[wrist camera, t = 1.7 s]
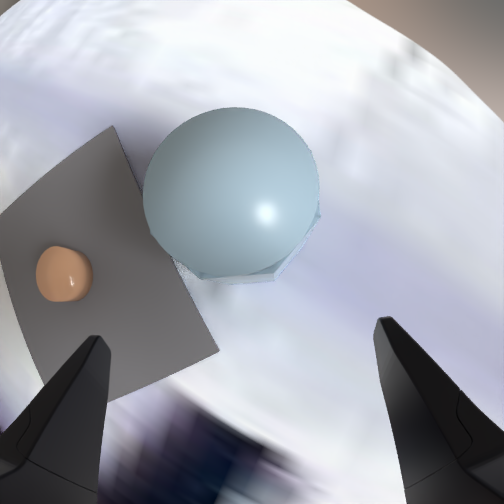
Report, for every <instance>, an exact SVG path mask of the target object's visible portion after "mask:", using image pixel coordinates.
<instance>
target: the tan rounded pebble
mask: <svg viewBox="0 0 504 504" xmlns="http://www.w3.org/2000/svg"><path fill="white" fill-rule="evenodd" d="M36 281H37V285H38V288H39V290H40V292H41V294H42V295H43V296H44V297H45V298H46V299H48V300H50V301H53V302H67V301H79V300H81V299H83V298H84V297H85V296H86V295H87V294H88V292H89V290H90V288H91V285H92V281H93V270H92V266H91V263H90V261H89V259H88V258H87V256H86V255H85V254H83V253H82V252H80V251H76V250H72V249H68V248H63V247H59V246H53V247H50V248H48V249H47V250H46V251H44V253H43V254H42V255H41V257H40V259H39V261H38V264H37V268H36Z"/></svg>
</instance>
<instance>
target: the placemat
mask: <svg viewBox="0 0 504 504" xmlns="http://www.w3.org/2000/svg"><path fill="white" fill-rule="evenodd" d="M53 246H59V247H63V248H68V249H72V250H76V251H80V252H82V253H83V254H85V255H86V256H87V258H88V259H89V261H90V263H91V266H92V270H93V281H92V285H91V288H90V290H89V292H88V294H87V295H86V296H85V297H84V298H83V299H81V300H79V301H67V302H53V301H50V300H48V299H46V298H45V297H44V296H43V295H42V294H41V292H40V290H39V288H38V285H37V281H36V268H37V264H38V261H39V259H40V257H41V255H42V254H43V253H44V251H46V250H47V249H48V248H50V247H53ZM0 260H1V265H2V269H3V272H4V276H5V280H6V284H7V287H8V291H9V294H10V297H11V301H12V304H13V307H14V310H15V313H16V316H17V319H18V322H19V325H20V328H21V330H22V333H23V336H24V339H25V341H26V344H27V346H28V349H29V351H30V354H31V356H32V359H33V361H34V363H35V366H36V368H37V370H38V372H39V375H40V377H41V379H42V381H43V383H44V385H46V383H47V382H48V381H49V380H50V379H51V378H52V376H53V375H54V374H55V373H56V372H57V371H58V370H59V368H60V367H61V366H62V365H63V364H64V363H65V362H66V361H67V359H68V358H69V357H70V356H71V355H72V354H73V353H74V352H75V351H76V349H77V348H78V347H79V346H80V345H81V344H82V343H83V342H84V341H85V340H86V339H87V337H89V336H90V335H100V336H101V337H102V338H103V339H104V341H105V342H106V344H107V345H108V346H109V348H110V350H111V368H110V382H109V394H108V401H107V402H110V401H112V400H115V399H117V398H120V397H122V396H124V395H127V394H129V393H131V392H134V391H136V390H138V389H140V388H143V387H145V386H147V385H149V384H152V383H154V382H156V381H158V380H161V379H163V378H165V377H167V376H169V375H172V374H174V373H176V372H178V371H180V370H182V369H184V368H186V367H189V366H191V365H193V364H195V363H197V362H199V361H201V360H203V359H205V358H207V357H209V356H211V355H213V354H215V353H217V352H219V351H220V350H219V348H218V346H217V345H216V343H215V341H214V339H213V337H212V336H211V334H210V332H209V330H208V328H207V326H206V324H205V323H204V321H203V319H202V317H201V315H200V313H199V311H198V309H197V308H196V306H195V304H194V302H193V300H192V298H191V296H190V294H189V292H188V290H187V288H186V286H185V284H184V282H183V280H182V278H181V276H180V274H179V272H178V270H177V268H176V266H175V264H174V262H173V260H172V258H171V256H170V255H169V254H168V253H167V252H166V251H165V250H164V249H163V248H162V247H161V246H160V244H159V243H158V241H157V240H156V239H155V238H154V237H153V236H152V235H151V234H150V228H149V225H148V222H147V220H146V217H145V212H144V207H143V195H142V193H141V191H140V189H139V186H138V184H137V182H136V179H135V177H134V175H133V172H132V170H131V168H130V165H129V163H128V160H127V158H126V156H125V153H124V151H123V148H122V146H121V143H120V141H119V138H118V136H117V133H116V131H115V128H114V127H113V126H111V127H109V128H108V129H106V130H105V131H103V132H102V133H100V134H99V135H97V136H96V137H94V138H93V139H92V140H90V141H89V142H87V143H86V144H85V145H83V146H82V147H80V148H79V149H78V150H76V151H75V152H74V153H72V154H71V155H70V156H68V157H67V158H66V159H64V160H63V161H62V162H61V163H59V164H58V165H57V166H55V167H54V168H53V169H52V170H50V171H49V172H48V173H47V174H46V175H44V176H43V177H42V178H41V179H40V180H38V181H37V182H36V183H35V184H34V185H32V186H31V187H30V188H29V189H28V190H27V191H26V192H24V193H23V194H22V195H21V196H20V197H19V198H18V199H17V200H16V201H15V202H13V203H12V204H11V205H10V206H9V207H8V208H7V209H6V210H5V211H4V212H3V213H2V214H1V215H0Z"/></svg>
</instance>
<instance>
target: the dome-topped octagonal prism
mask: <svg viewBox="0 0 504 504" xmlns="http://www.w3.org/2000/svg"><path fill="white" fill-rule="evenodd" d="M318 199H319V175H318V171H317V166H316V163H315V160H314V158H313V155H312V152H311V150H310V149H309V148H308V146H307V144H306V143H305V142H304V140H303V139H302V138H301V136H300V135H299V134H298V133H297V132H296V131H295V130H294V129H293V128H291V127H290V126H289V125H288V124H286V123H285V122H283V121H282V120H280V119H278V118H277V117H275V116H272V115H270V114H268V113H265V112H262V111H258V110H255V109H249V108H237V107H232V108H221V109H216V110H212V111H208V112H205V113H202V114H200V115H197V116H195V117H193V118H191V119H189V120H188V121H186V122H184V123H183V124H181V125H180V126H179V127H177V128H176V129H175V130H174V131H173V132H171V133H170V134H169V135H168V136H167V137H166V138H165V140H164V141H163V142H162V143H161V144H160V146H159V147H158V149H157V150H156V152H155V153H154V155H153V157H152V159H151V161H150V163H149V166H148V169H147V172H146V175H145V180H144V185H143V207H144V212H145V217H146V220H147V222H148V225H149V228H150V234H151V235H152V236H153V237H154V238H155V239H156V240H157V241H158V243H159V244H160V246H161V247H162V248H163V249H164V250H165V251H166V252H167V253H168V254H169V255H170V256H172V257H173V258H174V259H175V260H177V261H178V262H180V263H182V264H183V265H185V266H186V267H187V268H188V269H189V270H190V271H191V272H193V273H194V274H195V275H196V276H197V277H198V278H199V279H201V280H207V281H213V282H219V283H224V284H230V285H234V284H246V283H259V282H270V281H275V280H276V279H277V277H278V276H279V275H280V274H281V273H282V271H283V270H284V269H285V268H286V267H287V265H288V264H289V263H290V262H291V261H292V259H293V258H294V257H295V256H296V255H297V253H298V252H299V251H300V250H301V248H302V247H303V245H304V244H305V242H306V240H307V239H308V237H309V235H310V234H311V232H312V231H313V229H314V227H315V226H316V224H317V222H318V221H319V219H320V217H321V215H320V207H319V200H318Z"/></svg>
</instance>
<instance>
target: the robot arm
mask: <svg viewBox="0 0 504 504" xmlns="http://www.w3.org/2000/svg"><path fill="white" fill-rule="evenodd" d="M373 340H374V346H375V352H376V358H377V365H378V371H379V378H380V383H381V387H382V391H383V395H384V399H385V403H386V407H387V411H388V415H389V419H390V423H391V427H392V432H393V436H394V441H395V445H396V450H397V454H398V459H399V464H400V469H401V474H402V479H403V485H404V489H405V490H404V491H405V497H406V502H407V504H504V431H503V430H502V429H500V428H499V427H498V426H497V425H496V424H495V423H494V422H493V421H492V420H490V419H489V418H488V417H487V416H486V415H485V414H484V413H483V412H482V411H481V410H480V409H479V408H478V407H477V406H476V405H475V404H474V403H473V402H472V401H471V400H470V399H469V398H468V397H467V396H466V395H465V393H464V392H463V391H462V390H460V388H459V387H458V386H457V385H456V384H455V383H454V381H453V380H452V379H451V378H450V377H449V376H448V375H447V374H446V373H445V372H444V371H443V370H442V369H441V367H440V366H439V365H438V364H437V363H436V362H435V361H434V360H433V359H432V358H431V357H430V356H429V355H428V354H427V353H426V352H425V351H424V349H423V348H422V347H421V346H420V345H419V344H418V343H417V342H416V341H415V340H414V339H413V338H412V337H411V336H410V335H409V334H408V333H407V332H406V331H405V330H404V329H403V328H402V327H401V326H400V325H399V324H398V323H397V322H396V321H395V320H394V319H393V318H392V317H390V316H387V317H380V318H379V319H378V320H377V323H376V327H375V330H374V334H373ZM110 368H111V350H110V348H109V346H108V345H107V344H106V342H105V341H104V339H103V338H102V337H101V336H100V335H90V336H89V337H87V339H86V340H85V341H84V342H83V343H82V344H81V345H80V346H79V347H78V348H77V349H76V351H75V352H74V353H73V354H72V355H71V356H70V357H69V358H68V359H67V361H66V362H65V363H64V364H63V365H62V366H61V367H60V368H59V370H58V371H57V372H56V373H55V374H54V375H53V376H52V378H51V379H50V380H49V381H48V382H47V383H46V385H45V386H44V387H43V388H42V389H41V390H40V392H39V393H38V394H37V395H36V396H35V397H34V399H33V400H32V401H31V402H30V404H28V406H27V407H26V408H25V409H24V410H23V412H22V413H21V414H20V415H19V416H18V417H17V419H16V420H15V421H14V422H13V423H12V424H11V425H10V426H9V427H8V428H7V429H6V430H5V431H4V432H3V433H2V434H1V435H0V504H97V487H98V474H99V463H100V453H101V445H102V436H103V429H104V421H105V414H106V408H107V401H108V394H109V382H110Z"/></svg>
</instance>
